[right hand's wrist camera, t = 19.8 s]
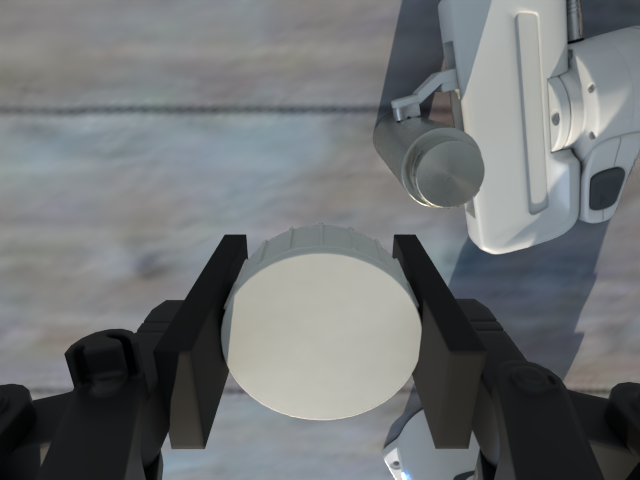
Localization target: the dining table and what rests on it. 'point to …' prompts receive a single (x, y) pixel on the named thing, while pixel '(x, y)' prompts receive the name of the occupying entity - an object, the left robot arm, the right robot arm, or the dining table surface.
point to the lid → (321, 324)
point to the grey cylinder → (431, 160)
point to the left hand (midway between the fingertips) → (400, 150)
